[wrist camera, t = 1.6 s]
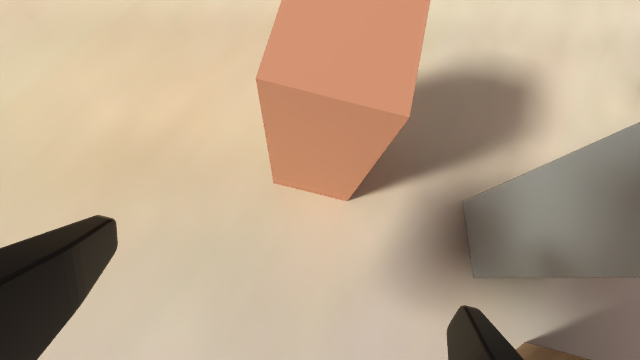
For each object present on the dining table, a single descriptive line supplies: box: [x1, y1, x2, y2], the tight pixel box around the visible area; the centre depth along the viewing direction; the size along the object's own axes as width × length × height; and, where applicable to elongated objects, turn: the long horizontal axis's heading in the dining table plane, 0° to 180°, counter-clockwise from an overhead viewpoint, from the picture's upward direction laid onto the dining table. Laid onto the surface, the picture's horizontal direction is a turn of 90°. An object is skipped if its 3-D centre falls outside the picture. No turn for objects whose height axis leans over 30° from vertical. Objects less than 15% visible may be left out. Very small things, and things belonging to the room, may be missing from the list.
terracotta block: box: [256, 0, 430, 201], centre depth 18 cm, size 5×5×12 cm
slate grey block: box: [462, 122, 640, 278], centre depth 17 cm, size 5×5×12 cm
